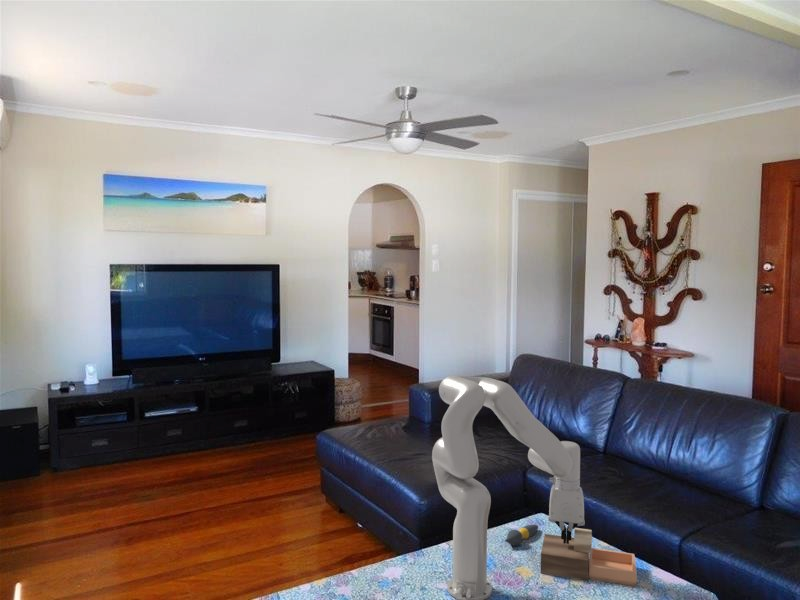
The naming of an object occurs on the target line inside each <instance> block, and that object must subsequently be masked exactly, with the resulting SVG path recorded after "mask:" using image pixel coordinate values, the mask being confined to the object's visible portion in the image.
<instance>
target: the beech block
mask: <svg viewBox="0 0 800 600" xmlns="http://www.w3.org/2000/svg"><path fill="white" fill-rule="evenodd" d="M573 531H574V535H573V536H574V537H573V538H574V551H579V552H586V553H589V554H590V553H591V548H592V546H593V545H592V543H593V534H592V533H593V531H592V529H589V528H579V527H575V528H574V530H573Z"/></svg>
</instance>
